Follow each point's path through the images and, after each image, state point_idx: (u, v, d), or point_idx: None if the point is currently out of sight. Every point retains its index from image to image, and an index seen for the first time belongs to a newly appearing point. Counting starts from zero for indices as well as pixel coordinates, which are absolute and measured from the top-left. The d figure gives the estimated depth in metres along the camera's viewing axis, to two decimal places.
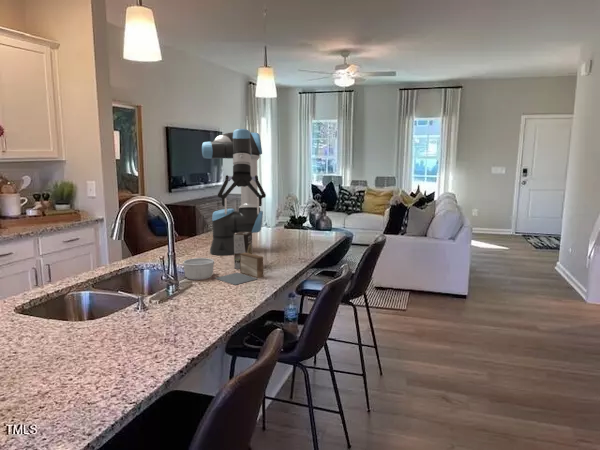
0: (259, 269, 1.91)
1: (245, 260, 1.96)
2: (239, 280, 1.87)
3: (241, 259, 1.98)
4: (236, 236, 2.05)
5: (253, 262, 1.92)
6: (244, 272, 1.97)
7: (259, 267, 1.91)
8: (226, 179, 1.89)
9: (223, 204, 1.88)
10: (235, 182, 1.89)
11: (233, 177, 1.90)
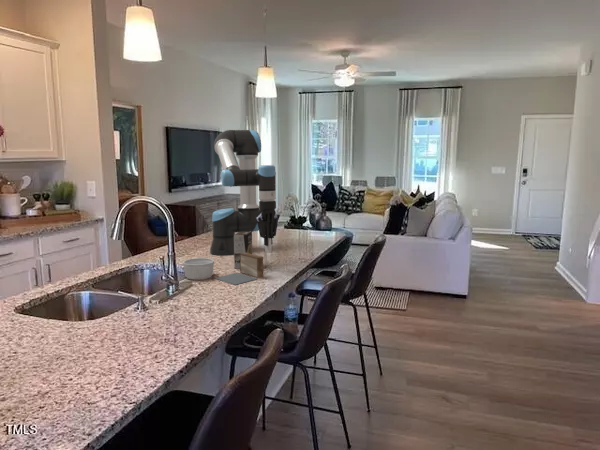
0: (259, 269, 1.91)
1: (245, 260, 1.96)
2: (239, 280, 1.87)
3: (241, 259, 1.98)
4: (236, 236, 2.05)
5: (253, 262, 1.92)
6: (244, 272, 1.97)
7: (259, 267, 1.91)
8: (261, 221, 1.95)
9: (267, 244, 2.00)
10: (268, 220, 1.98)
11: (263, 214, 1.96)
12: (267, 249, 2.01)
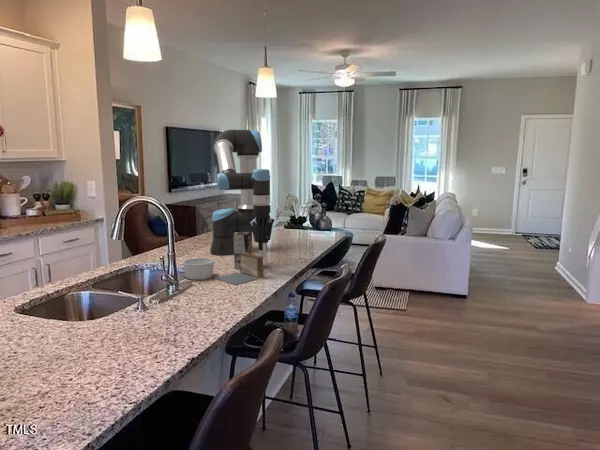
0: (259, 269, 1.91)
1: (245, 260, 1.96)
2: (239, 280, 1.87)
3: (241, 259, 1.98)
4: (236, 236, 2.05)
5: (253, 262, 1.92)
6: (244, 272, 1.97)
7: (259, 267, 1.91)
8: (255, 225, 1.93)
9: (261, 249, 1.98)
10: (262, 224, 1.95)
11: (257, 219, 1.94)
12: (261, 254, 1.99)
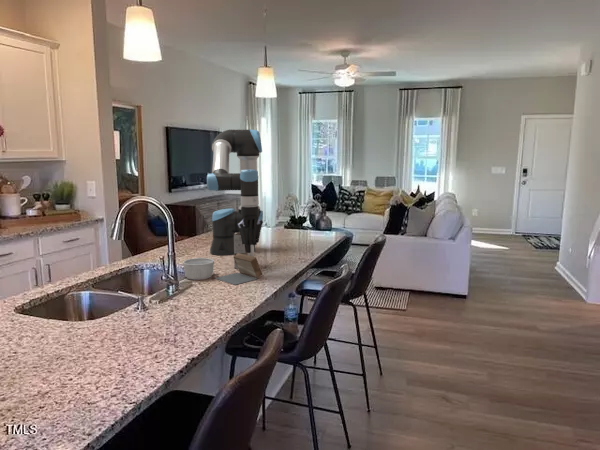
0: (256, 270, 1.90)
1: (240, 262, 1.94)
2: (239, 280, 1.87)
3: (236, 262, 1.96)
4: (236, 236, 2.05)
5: (248, 265, 1.90)
6: (243, 272, 1.97)
7: (255, 268, 1.90)
8: (242, 227, 1.88)
9: (249, 251, 1.93)
10: (250, 226, 1.91)
11: (245, 220, 1.89)
12: None
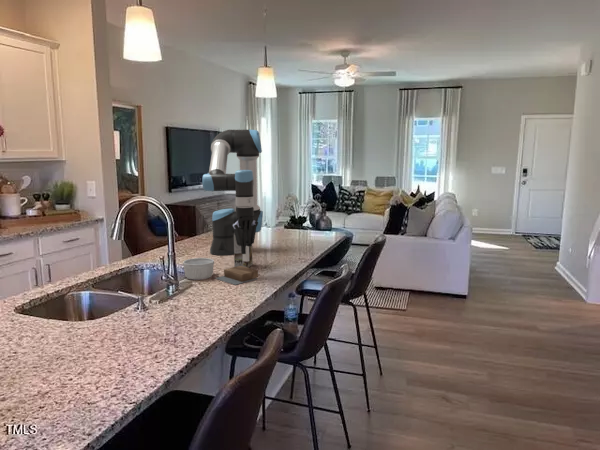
0: (251, 277, 1.88)
1: None
2: None
3: None
4: None
5: None
6: None
7: (249, 277, 1.88)
8: (237, 228, 1.86)
9: (244, 252, 1.91)
10: (245, 227, 1.89)
11: (240, 221, 1.87)
12: (244, 257, 1.92)
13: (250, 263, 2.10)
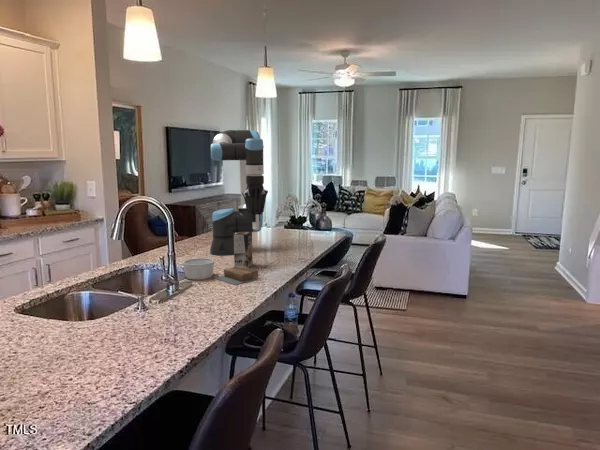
0: (251, 277, 1.88)
1: None
2: None
3: None
4: (236, 236, 2.05)
5: None
6: None
7: (249, 277, 1.88)
8: (248, 196, 1.89)
9: (254, 220, 1.94)
10: (255, 195, 1.91)
11: (250, 189, 1.89)
12: (254, 226, 1.95)
13: (250, 263, 2.10)
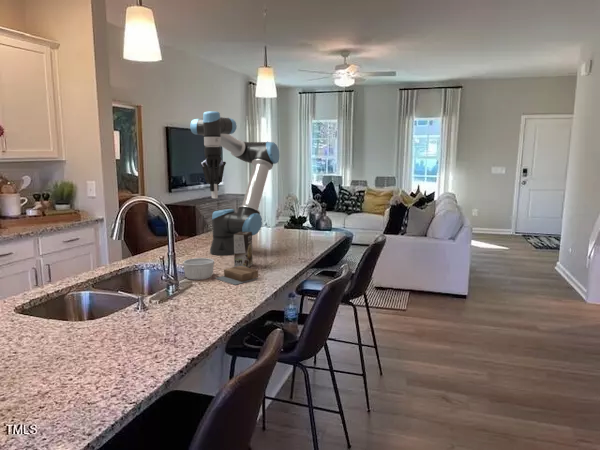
0: (251, 277, 1.88)
1: None
2: None
3: None
4: (236, 236, 2.05)
5: None
6: None
7: (249, 277, 1.88)
8: (205, 166, 2.00)
9: (213, 190, 2.05)
10: (213, 165, 2.03)
11: (208, 160, 2.01)
12: (213, 195, 2.06)
13: (250, 263, 2.10)
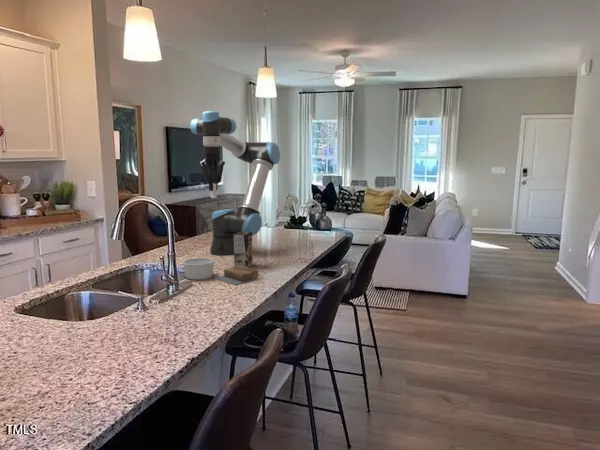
0: (251, 277, 1.88)
1: None
2: None
3: None
4: (236, 236, 2.05)
5: None
6: None
7: (249, 277, 1.88)
8: (204, 165, 2.01)
9: (211, 189, 2.05)
10: (212, 165, 2.03)
11: (207, 159, 2.02)
12: (212, 194, 2.07)
13: (250, 263, 2.10)
